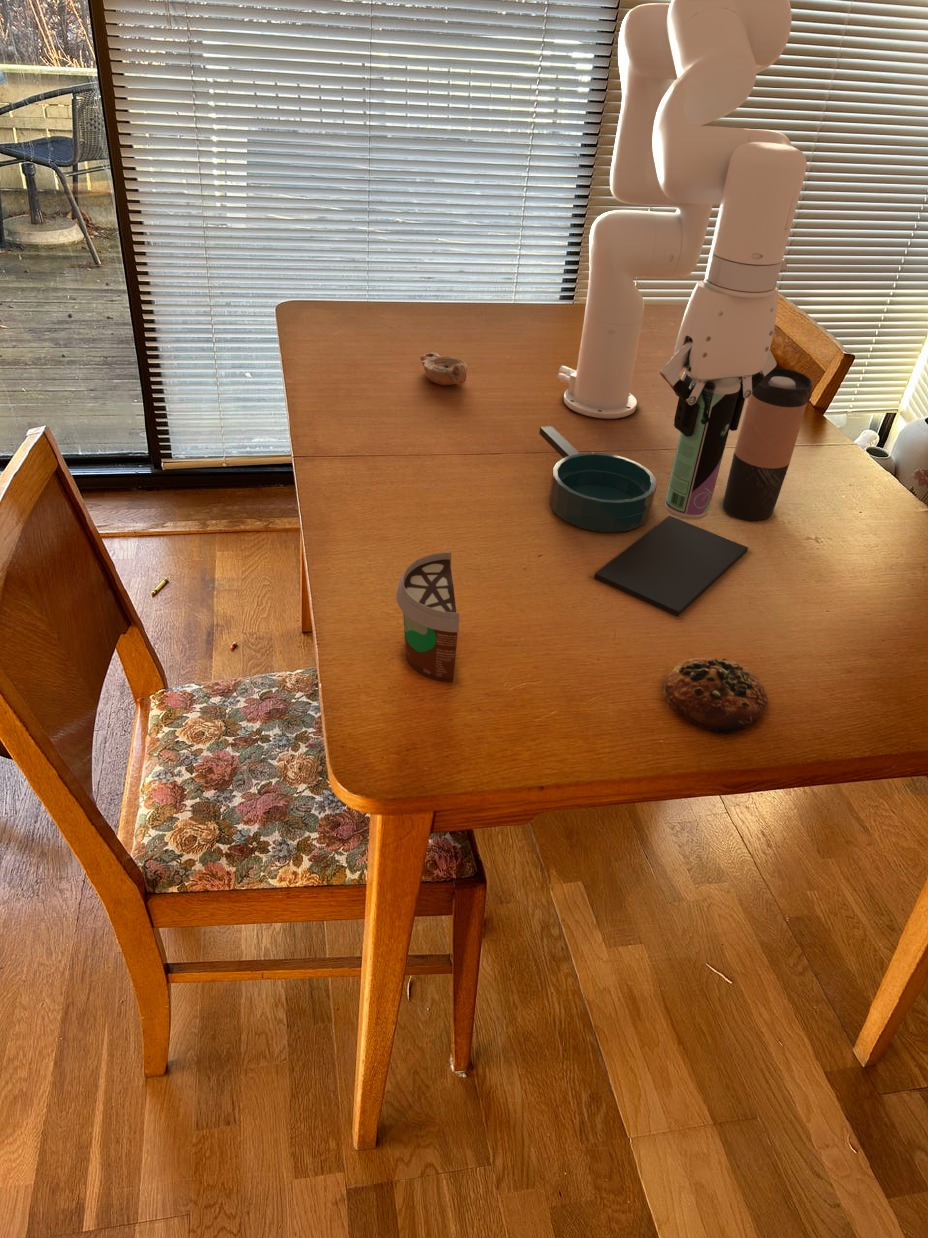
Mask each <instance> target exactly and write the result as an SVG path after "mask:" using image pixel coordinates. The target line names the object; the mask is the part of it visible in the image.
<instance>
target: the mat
mask: <svg viewBox="0 0 928 1238" xmlns="http://www.w3.org/2000/svg"><path fill="white" fill-rule="evenodd" d="M748 550H749V547H748V546H746V545H743V544H742V543H738V542H736V541H733V540H731V539H729V538H726V537H724V536H721V535H718V534H716V533H714V532H711V531H710V530H706V529H704V528H701V527H699V526H697V525H695V524H692V523H690V522H687V521H685V520H682V519H679V518H678V517H676V516H673V515H668V516H667V517H666V518H665V519H663V520H661V522H659V523H658V524H656V525H655V526H654V527H653V528H651V529H650V530H649V531H648V532H646V533H645V534H644V535H642V536H641V537H640V538H639V539H637V540H636V541H635V542H633V543H632V544H631V545H629V546H628V547H626V548H625V549H624V550H623V551H621V552H620V553H619V554H618V555H617V556H615V557H613V559H611V560H610V561H609V562H607V563H606V564H604V565H603V566H602V567H601V568H600V569H598V570H597V571H596V572H595V573H594V577H593V579H595V580H596V581H598V582H601V583H603V584H605V585H607V586H610V587H612V588H614V589H617V590H618V591H621V592H623V593H624V594H627V595H629V596H631V597H634V598H636V599H638V600H640V601H642V602H644V603H646V604H649V605H651V606H654V607H656V608H658V609H660V610H662V611H664V612H666V613H669V614H671V615H673V616H675V617H676V618H678V617H679V616H680V615H682V613H684V612H685V611H686V610H687V609H688V608H689V607H690V606H691V605H692V604H693V603H695V601H696V600H698V599H699V598H700V597H701V596H702V595H703V594H704V593H705V592H707V590H708V589H709V588H711V586H712V585H713V584H715V583H716V582H717V581H718V580H719V579H721V577H723V575H724V574H725V573H727V571H728V570H730V569H731V568H732V567H733V566H734V565H735V564H736V563H737V562H738V561H739V560H740V559H742V558H743V556H744V555H746V554H747V553H748Z"/></svg>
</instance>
